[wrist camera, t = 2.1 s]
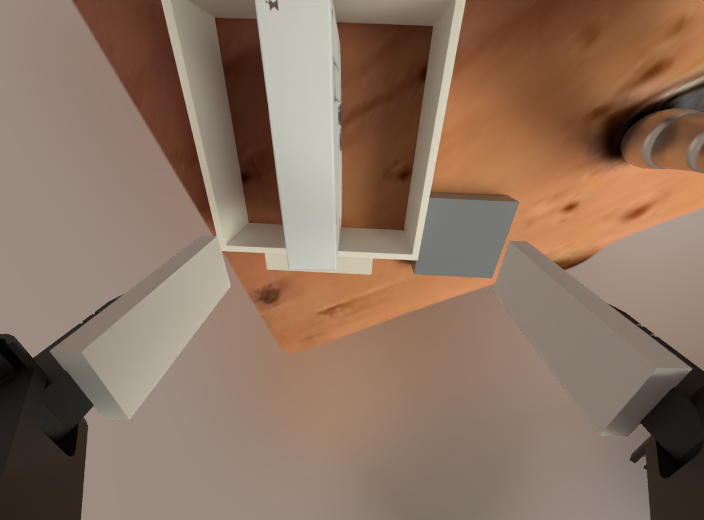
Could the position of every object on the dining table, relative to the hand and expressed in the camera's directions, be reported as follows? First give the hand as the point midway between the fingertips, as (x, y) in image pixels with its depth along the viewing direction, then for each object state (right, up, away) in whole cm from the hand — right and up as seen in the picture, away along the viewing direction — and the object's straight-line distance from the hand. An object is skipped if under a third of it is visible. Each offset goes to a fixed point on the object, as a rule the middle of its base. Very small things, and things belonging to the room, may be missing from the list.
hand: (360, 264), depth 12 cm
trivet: (+16, +4, +28) cm, 32 cm away
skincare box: (-4, +16, +23) cm, 28 cm away
